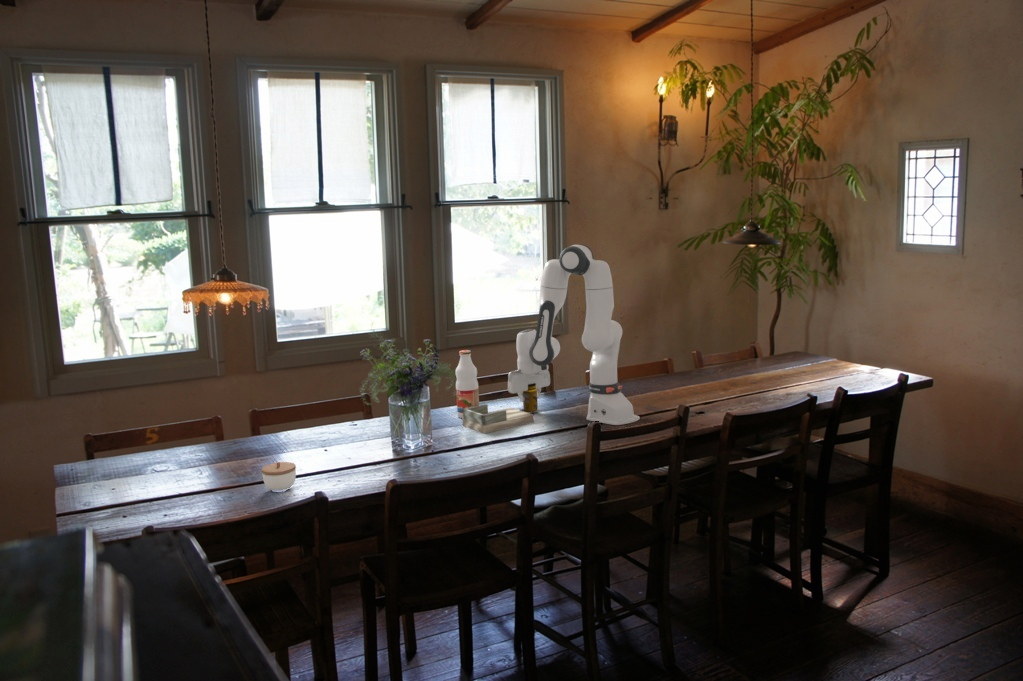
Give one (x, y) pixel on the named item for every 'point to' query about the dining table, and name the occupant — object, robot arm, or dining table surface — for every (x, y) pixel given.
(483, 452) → the dining table surface
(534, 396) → the condiment
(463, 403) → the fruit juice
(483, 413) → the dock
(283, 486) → the lidded jar
